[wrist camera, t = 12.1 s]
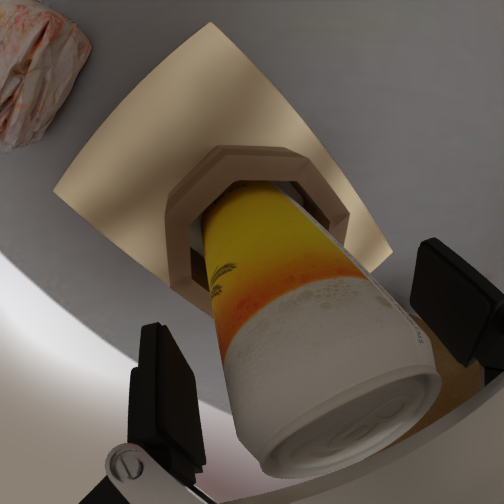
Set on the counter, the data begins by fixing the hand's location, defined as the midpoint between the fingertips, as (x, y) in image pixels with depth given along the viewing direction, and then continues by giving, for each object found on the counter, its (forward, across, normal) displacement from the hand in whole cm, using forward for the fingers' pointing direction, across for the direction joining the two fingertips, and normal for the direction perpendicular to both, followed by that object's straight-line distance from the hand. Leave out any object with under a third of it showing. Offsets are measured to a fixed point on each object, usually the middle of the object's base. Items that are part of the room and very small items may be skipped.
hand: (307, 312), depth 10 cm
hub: (+12, 0, +1) cm, 12 cm away
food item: (+12, +13, -15) cm, 23 cm away
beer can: (+11, 0, +1) cm, 11 cm away
